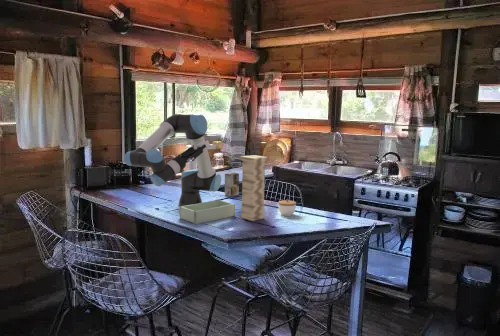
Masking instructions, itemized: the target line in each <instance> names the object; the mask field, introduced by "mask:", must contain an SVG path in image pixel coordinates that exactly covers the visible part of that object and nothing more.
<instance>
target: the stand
mask: <svg viewBox="0 0 500 336" xmlns="http://www.w3.org/2000/svg"><path fill="white" fill-rule="evenodd" d="M269 160H270V158H269V156H263V155H256V154H253V155H252V154H251V155H243V156H242V155H241V156H238V161H242V182H241V184H242V187H241V191H242V193H241V218H242V219H244V220H247V221H252V222H255V221H258V220H262V219H263V220H264V218H265V217H264V215H265V214H264V213H265V173H266V172H265V171H266V170H265V169H266V161H267V162H269Z"/></svg>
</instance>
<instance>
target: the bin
mask: <svg viewBox="0 0 500 336" xmlns="http://www.w3.org/2000/svg"><path fill="white" fill-rule="evenodd" d="M235 216H236V203H233V202H228V201H225V200H221V199H217V200H211V201H205V202H202V203H198V204H192V205H186V206H179V219H180V220H183V221H185V222H188V223H190V224H193V225H197V224H203V223H207V222H211V221H216V220H221V219H227V218H230V217H235Z"/></svg>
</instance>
